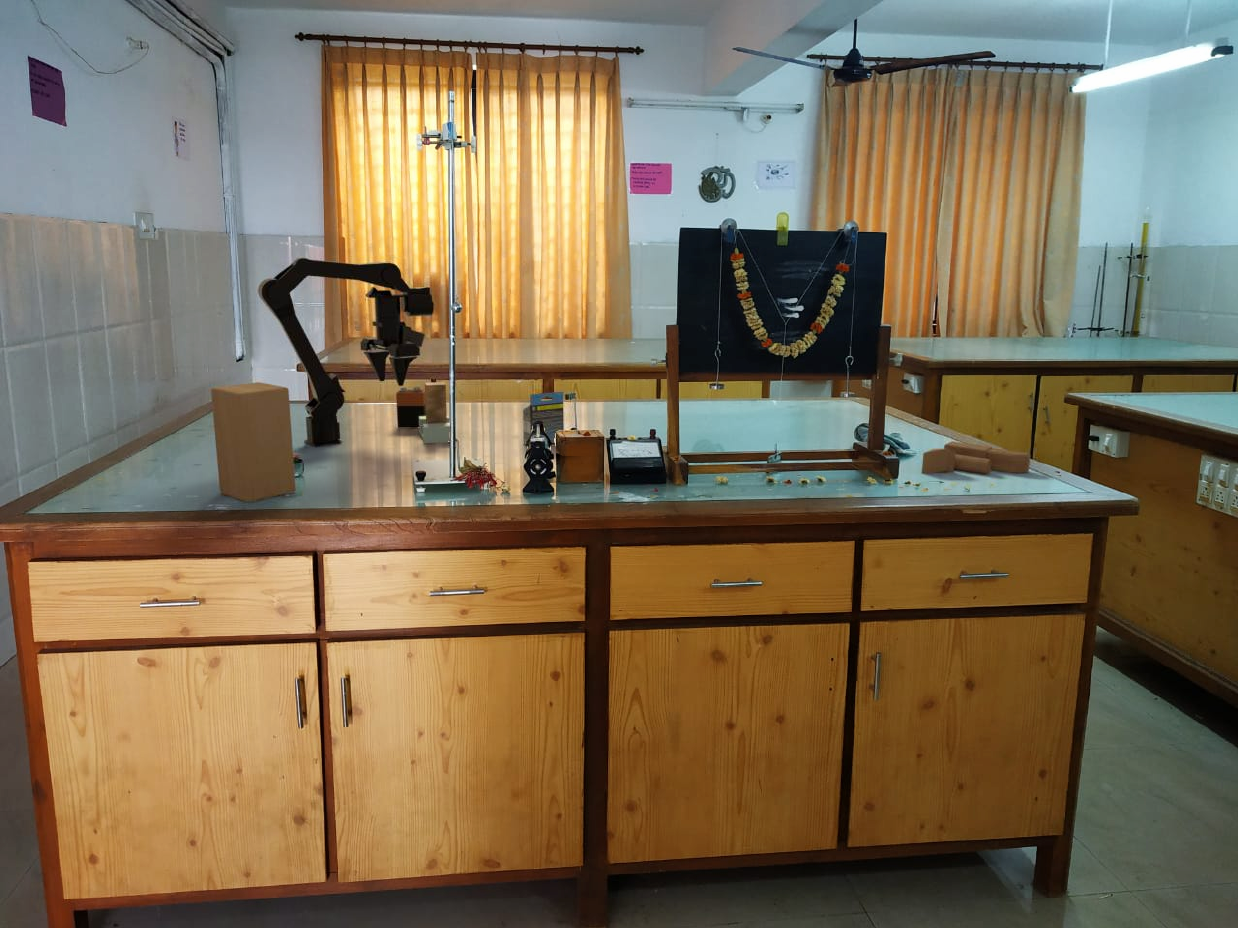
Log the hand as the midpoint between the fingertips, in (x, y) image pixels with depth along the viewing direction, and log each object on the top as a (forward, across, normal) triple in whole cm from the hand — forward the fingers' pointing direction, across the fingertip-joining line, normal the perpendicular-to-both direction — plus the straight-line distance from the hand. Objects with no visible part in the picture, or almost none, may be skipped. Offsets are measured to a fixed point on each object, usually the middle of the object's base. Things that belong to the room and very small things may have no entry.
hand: (391, 383), depth 225 cm
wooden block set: (+14, -106, -78) cm, 133 cm away
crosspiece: (+13, -6, -8) cm, 17 cm away
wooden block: (+13, -30, +44) cm, 55 cm away
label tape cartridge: (+13, -28, -24) cm, 39 cm away
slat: (+12, -6, -8) cm, 16 cm away
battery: (+13, +9, -10) cm, 19 cm away
